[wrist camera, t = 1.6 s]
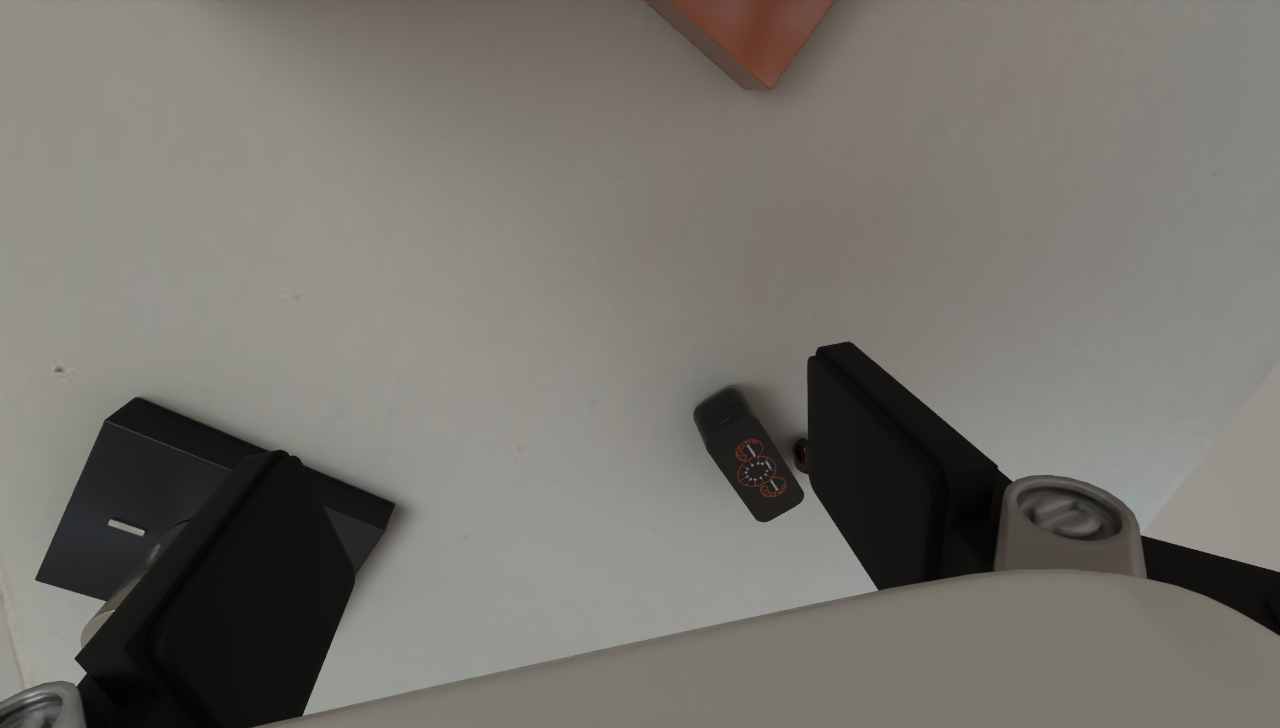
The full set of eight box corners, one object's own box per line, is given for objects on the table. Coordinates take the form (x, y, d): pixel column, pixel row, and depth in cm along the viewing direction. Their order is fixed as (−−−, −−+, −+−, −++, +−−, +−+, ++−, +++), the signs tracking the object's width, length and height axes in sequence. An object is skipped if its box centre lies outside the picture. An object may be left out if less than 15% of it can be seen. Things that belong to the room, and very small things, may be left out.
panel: (66, 549, 28) (30, 583, 26) (135, 396, 25) (101, 421, 23) (313, 627, 32) (297, 661, 30) (395, 503, 29) (384, 532, 28)
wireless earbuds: (747, 495, 32) (767, 535, 30) (686, 407, 29) (701, 442, 26) (820, 454, 32) (846, 490, 29) (765, 359, 29) (788, 390, 26)
